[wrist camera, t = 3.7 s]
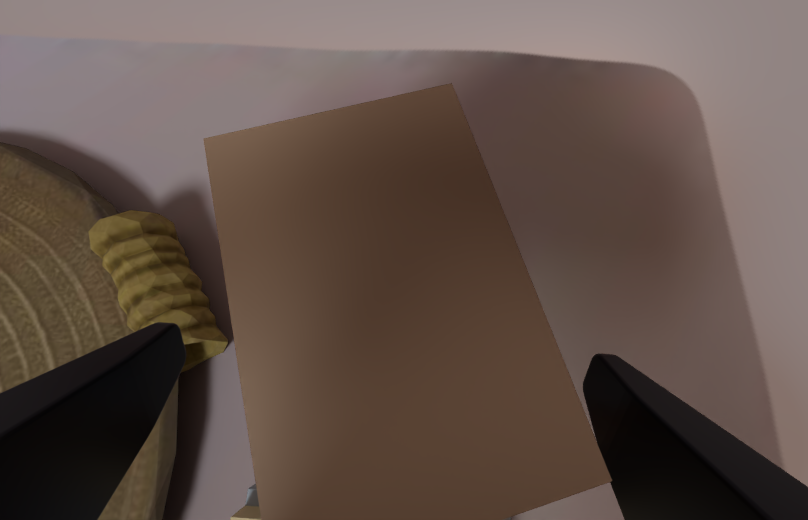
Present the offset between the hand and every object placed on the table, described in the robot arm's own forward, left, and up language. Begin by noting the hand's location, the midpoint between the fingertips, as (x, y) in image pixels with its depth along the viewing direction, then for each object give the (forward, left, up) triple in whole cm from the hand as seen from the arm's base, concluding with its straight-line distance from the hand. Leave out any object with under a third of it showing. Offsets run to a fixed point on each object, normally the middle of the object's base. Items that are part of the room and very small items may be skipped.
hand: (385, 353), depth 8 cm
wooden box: (+1, 0, -8) cm, 8 cm away
